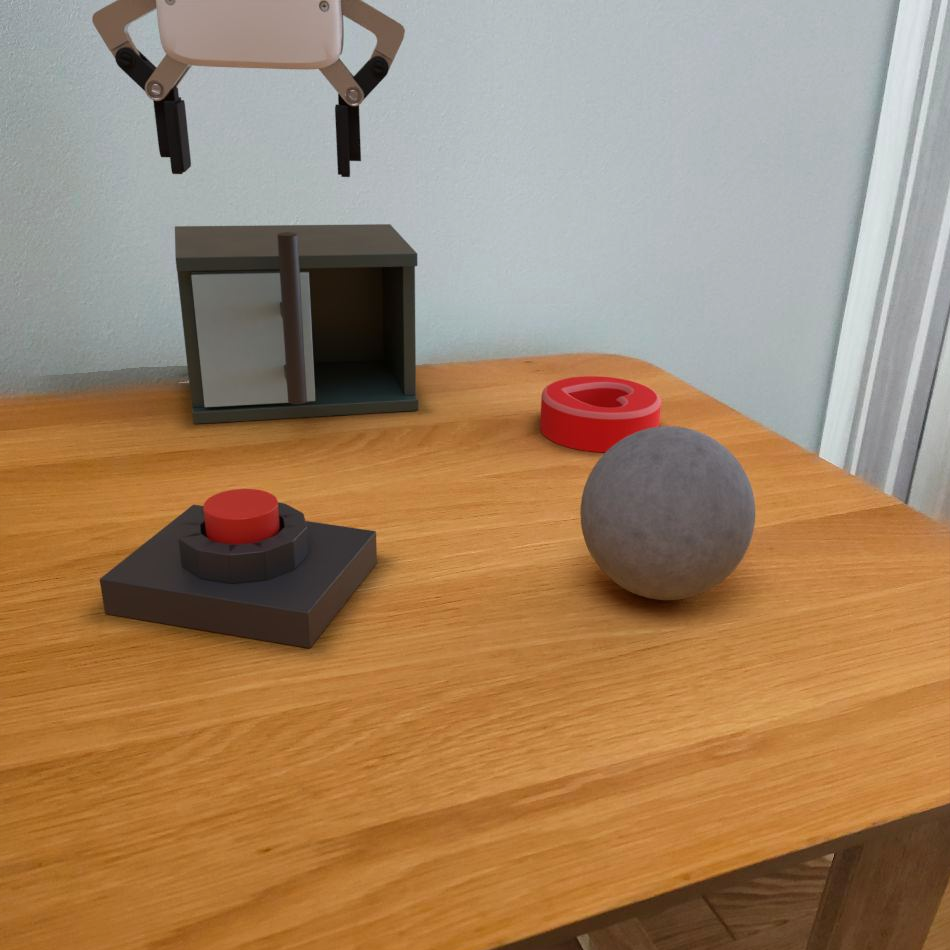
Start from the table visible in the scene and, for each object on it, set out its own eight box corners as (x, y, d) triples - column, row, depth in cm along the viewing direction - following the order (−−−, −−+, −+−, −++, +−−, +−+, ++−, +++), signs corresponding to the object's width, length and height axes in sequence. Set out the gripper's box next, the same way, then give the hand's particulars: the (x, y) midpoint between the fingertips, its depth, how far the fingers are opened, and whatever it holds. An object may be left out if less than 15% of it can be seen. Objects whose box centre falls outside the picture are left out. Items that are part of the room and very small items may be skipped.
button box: (104, 614, 58) (94, 549, 56) (196, 535, 67) (190, 477, 65) (309, 648, 56) (306, 582, 54) (377, 563, 65) (375, 503, 63)
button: (192, 541, 58) (189, 513, 57) (227, 512, 62) (225, 484, 61) (260, 552, 57) (257, 523, 57) (291, 521, 61) (289, 493, 60)
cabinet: (193, 424, 83) (175, 257, 78) (190, 376, 94) (174, 226, 88) (418, 410, 89) (417, 253, 83) (392, 367, 99) (390, 224, 93)
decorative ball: (771, 623, 60) (799, 461, 56) (605, 641, 58) (620, 472, 53) (703, 544, 69) (722, 398, 64) (555, 557, 66) (564, 405, 62)
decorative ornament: (531, 410, 90) (533, 375, 89) (641, 409, 92) (645, 374, 90) (550, 453, 82) (552, 415, 80) (671, 451, 83) (675, 413, 82)
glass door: (206, 431, 79) (186, 237, 72) (204, 405, 84) (185, 220, 77) (323, 424, 81) (314, 235, 75) (314, 398, 86) (305, 219, 80)
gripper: (399, -144, 61) (404, 166, 69) (84, -165, 59) (126, 161, 66) (404, -162, 55) (409, 184, 62) (49, -185, 52) (101, 179, 60)
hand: (264, 172), depth 64 cm, fingers open, 9 cm apart
